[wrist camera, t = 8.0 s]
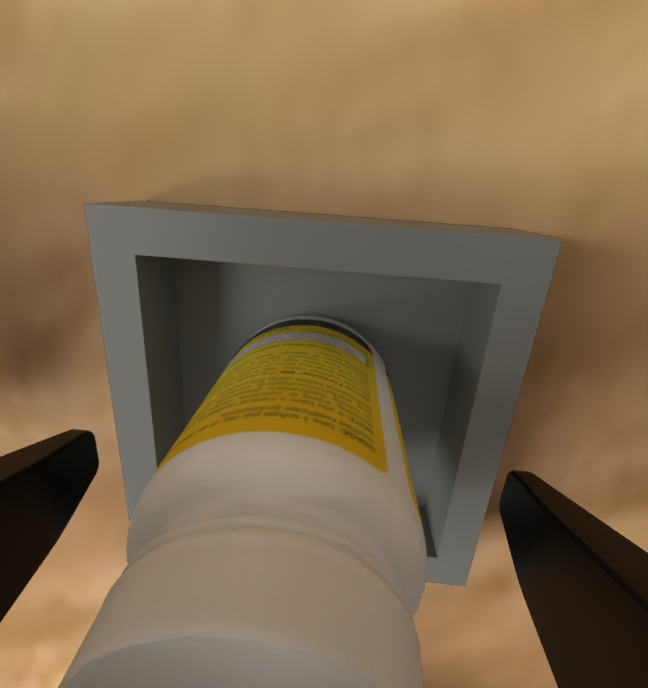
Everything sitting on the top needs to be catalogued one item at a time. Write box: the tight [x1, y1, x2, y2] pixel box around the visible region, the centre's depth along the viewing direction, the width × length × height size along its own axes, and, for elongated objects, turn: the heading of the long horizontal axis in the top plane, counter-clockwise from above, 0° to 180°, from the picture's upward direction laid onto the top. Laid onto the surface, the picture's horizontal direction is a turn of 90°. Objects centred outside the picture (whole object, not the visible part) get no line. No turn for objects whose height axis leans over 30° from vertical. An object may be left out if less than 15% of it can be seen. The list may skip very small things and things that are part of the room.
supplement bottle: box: [58, 316, 427, 688], centre depth 8 cm, size 5×5×8 cm
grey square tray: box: [84, 201, 562, 586], centre depth 11 cm, size 10×10×3 cm
